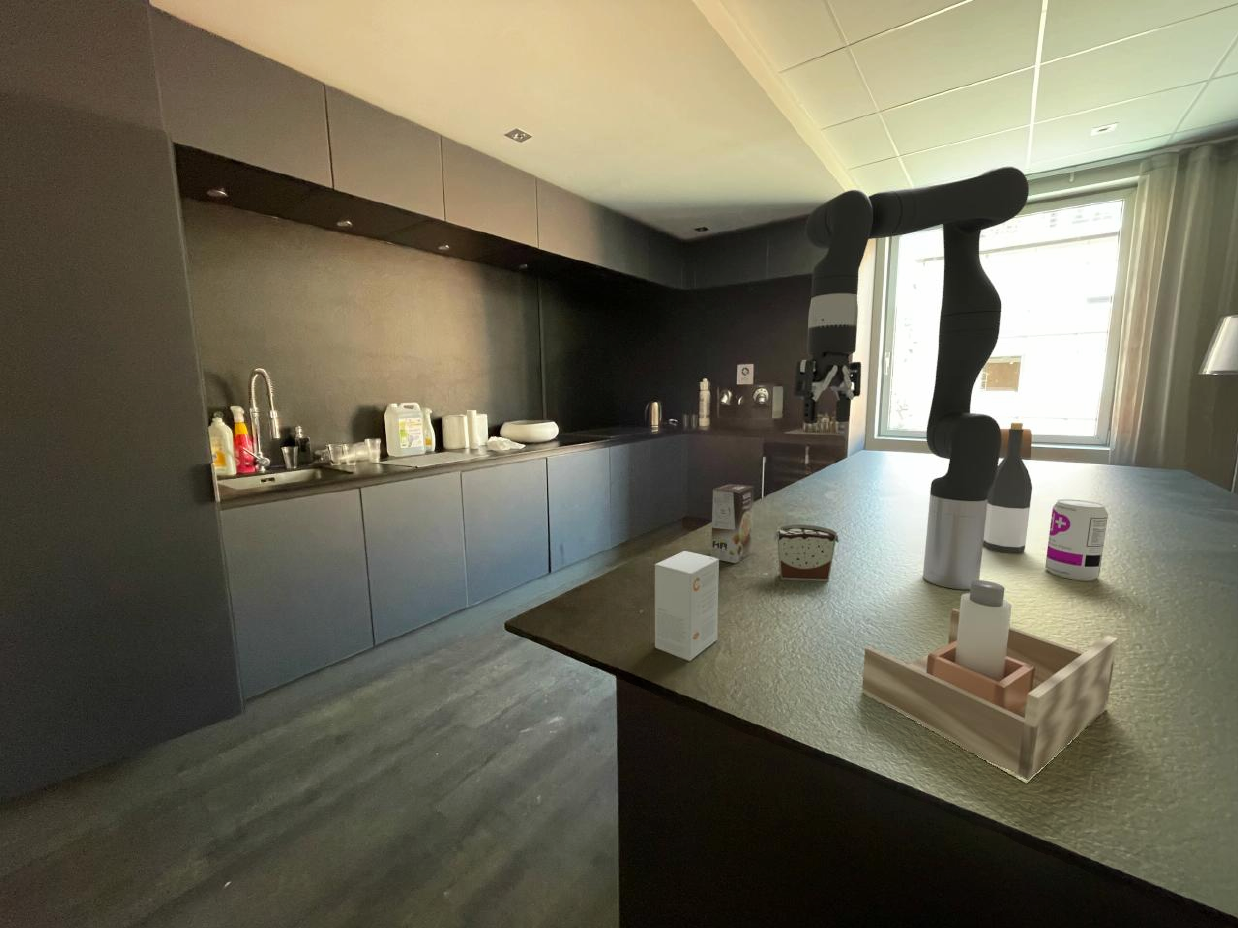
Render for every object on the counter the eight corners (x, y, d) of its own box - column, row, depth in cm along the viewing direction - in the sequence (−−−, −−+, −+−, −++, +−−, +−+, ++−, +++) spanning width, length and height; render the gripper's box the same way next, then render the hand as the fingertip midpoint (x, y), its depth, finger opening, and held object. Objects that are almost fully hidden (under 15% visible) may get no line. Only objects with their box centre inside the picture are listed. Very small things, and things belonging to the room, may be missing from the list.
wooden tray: (950, 646, 72) (956, 588, 71) (1106, 709, 58) (1117, 638, 57) (861, 692, 62) (866, 625, 60) (1027, 784, 47) (1038, 698, 46)
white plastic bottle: (963, 678, 63) (974, 574, 61) (1007, 697, 59) (1020, 587, 57) (944, 689, 61) (955, 582, 59) (989, 711, 57) (1001, 596, 55)
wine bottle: (973, 543, 121) (986, 422, 117) (1003, 542, 122) (1016, 421, 118) (1002, 554, 113) (1017, 424, 109) (1033, 553, 114) (1049, 423, 110)
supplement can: (1054, 578, 98) (1064, 505, 96) (1038, 565, 106) (1046, 497, 104) (1107, 584, 95) (1118, 509, 93) (1086, 570, 103) (1096, 500, 101)
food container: (826, 569, 104) (829, 524, 102) (836, 580, 98) (839, 532, 96) (767, 568, 105) (768, 522, 104) (773, 578, 99) (775, 530, 98)
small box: (682, 627, 79) (684, 549, 77) (718, 640, 75) (720, 558, 73) (653, 647, 73) (653, 563, 71) (689, 662, 69) (691, 573, 67)
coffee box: (736, 564, 107) (739, 492, 105) (710, 558, 111) (711, 489, 109) (752, 553, 115) (754, 485, 113) (726, 548, 119) (728, 483, 116)
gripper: (824, 319, 75) (818, 425, 77) (878, 325, 82) (872, 422, 85) (784, 325, 81) (780, 423, 84) (839, 330, 89) (833, 420, 91)
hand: (826, 422), depth 84 cm, fingers open, 8 cm apart
